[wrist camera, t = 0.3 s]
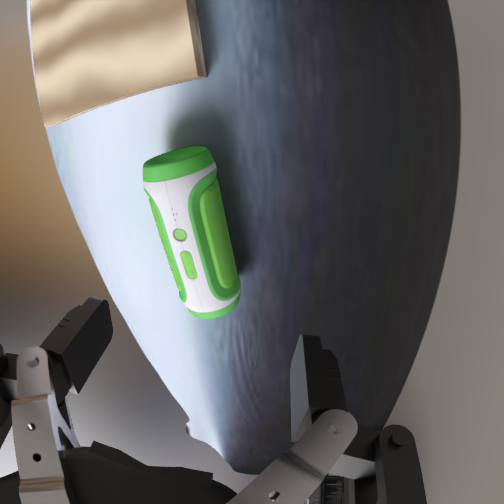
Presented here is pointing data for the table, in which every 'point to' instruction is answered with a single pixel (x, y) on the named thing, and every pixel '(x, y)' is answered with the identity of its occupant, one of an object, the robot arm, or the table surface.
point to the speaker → (194, 229)
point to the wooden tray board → (110, 51)
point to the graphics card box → (328, 491)
